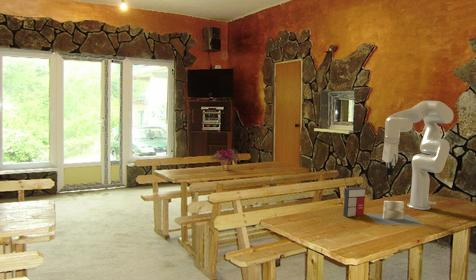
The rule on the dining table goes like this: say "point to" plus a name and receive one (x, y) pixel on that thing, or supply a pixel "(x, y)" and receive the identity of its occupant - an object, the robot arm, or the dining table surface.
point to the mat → (394, 220)
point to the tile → (393, 209)
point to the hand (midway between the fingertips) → (389, 175)
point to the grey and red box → (354, 201)
